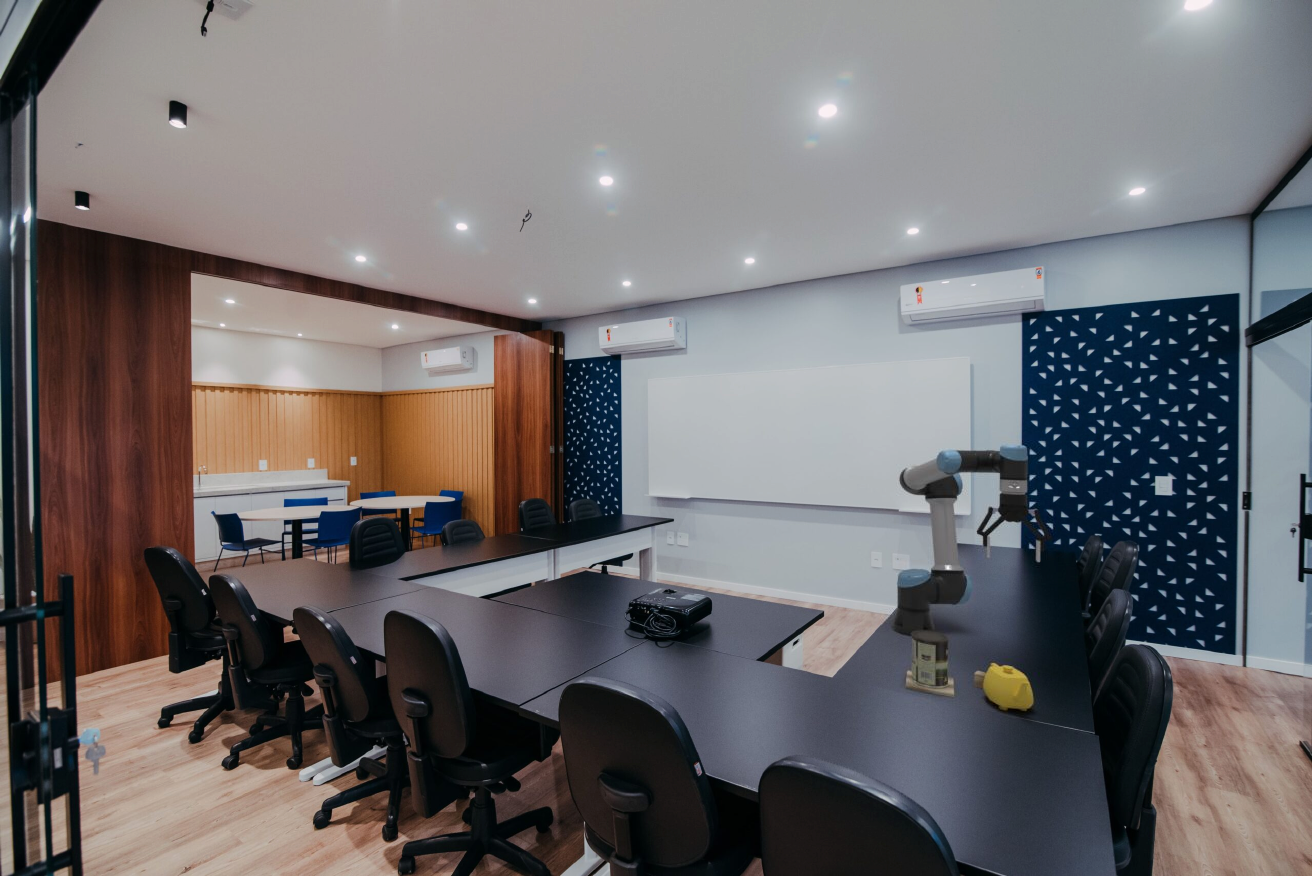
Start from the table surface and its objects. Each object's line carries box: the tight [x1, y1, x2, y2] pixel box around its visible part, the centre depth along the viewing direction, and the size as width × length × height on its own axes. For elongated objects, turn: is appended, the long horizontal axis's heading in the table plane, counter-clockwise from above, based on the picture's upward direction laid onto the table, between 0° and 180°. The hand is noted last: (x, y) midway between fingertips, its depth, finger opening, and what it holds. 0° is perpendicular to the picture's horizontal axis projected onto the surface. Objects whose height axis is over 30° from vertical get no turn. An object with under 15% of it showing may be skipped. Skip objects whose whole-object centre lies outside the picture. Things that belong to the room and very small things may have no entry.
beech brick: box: [973, 670, 987, 690], centre depth 171 cm, size 6×3×4 cm, turn 44°
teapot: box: [983, 662, 1034, 712], centre depth 159 cm, size 18×11×11 cm, turn 177°
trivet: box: [904, 669, 955, 698], centre depth 173 cm, size 13×13×1 cm
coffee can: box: [911, 630, 949, 689], centre depth 173 cm, size 10×10×14 cm
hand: (1012, 559), depth 182 cm, fingers open, 13 cm apart
